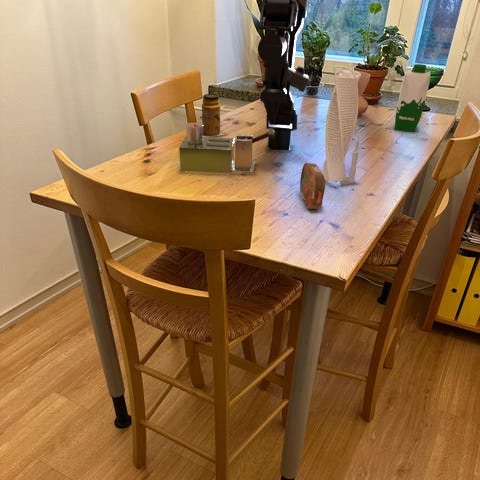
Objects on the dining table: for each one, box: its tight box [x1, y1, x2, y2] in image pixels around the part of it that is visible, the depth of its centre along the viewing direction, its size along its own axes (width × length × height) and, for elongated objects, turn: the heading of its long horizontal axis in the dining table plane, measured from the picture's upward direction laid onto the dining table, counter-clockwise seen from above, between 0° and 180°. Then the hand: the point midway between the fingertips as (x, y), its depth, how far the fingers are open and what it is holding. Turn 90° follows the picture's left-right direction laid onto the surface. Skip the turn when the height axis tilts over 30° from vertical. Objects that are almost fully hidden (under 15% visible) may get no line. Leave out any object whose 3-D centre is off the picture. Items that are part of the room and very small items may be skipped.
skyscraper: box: [321, 64, 361, 187], centre depth 117 cm, size 8×8×28 cm
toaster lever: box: [244, 127, 274, 144], centre depth 125 cm, size 10×6×2 cm, turn 85°
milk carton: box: [393, 63, 432, 133], centre depth 160 cm, size 9×9×20 cm
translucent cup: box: [185, 122, 203, 144], centre depth 126 cm, size 4×4×5 cm
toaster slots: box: [206, 139, 230, 147], centre depth 127 cm, size 6×6×1 cm
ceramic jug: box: [336, 71, 371, 116], centre depth 177 cm, size 18×14×14 cm
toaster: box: [178, 135, 236, 175], centre depth 129 cm, size 15×10×7 cm
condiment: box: [201, 93, 226, 138], centre depth 153 cm, size 7×8×12 cm
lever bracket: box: [231, 134, 256, 174], centre depth 128 cm, size 6×8×9 cm
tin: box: [299, 162, 326, 210], centre depth 112 cm, size 15×3×8 cm, turn 5°
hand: (272, 123), depth 123 cm, fingers closed
